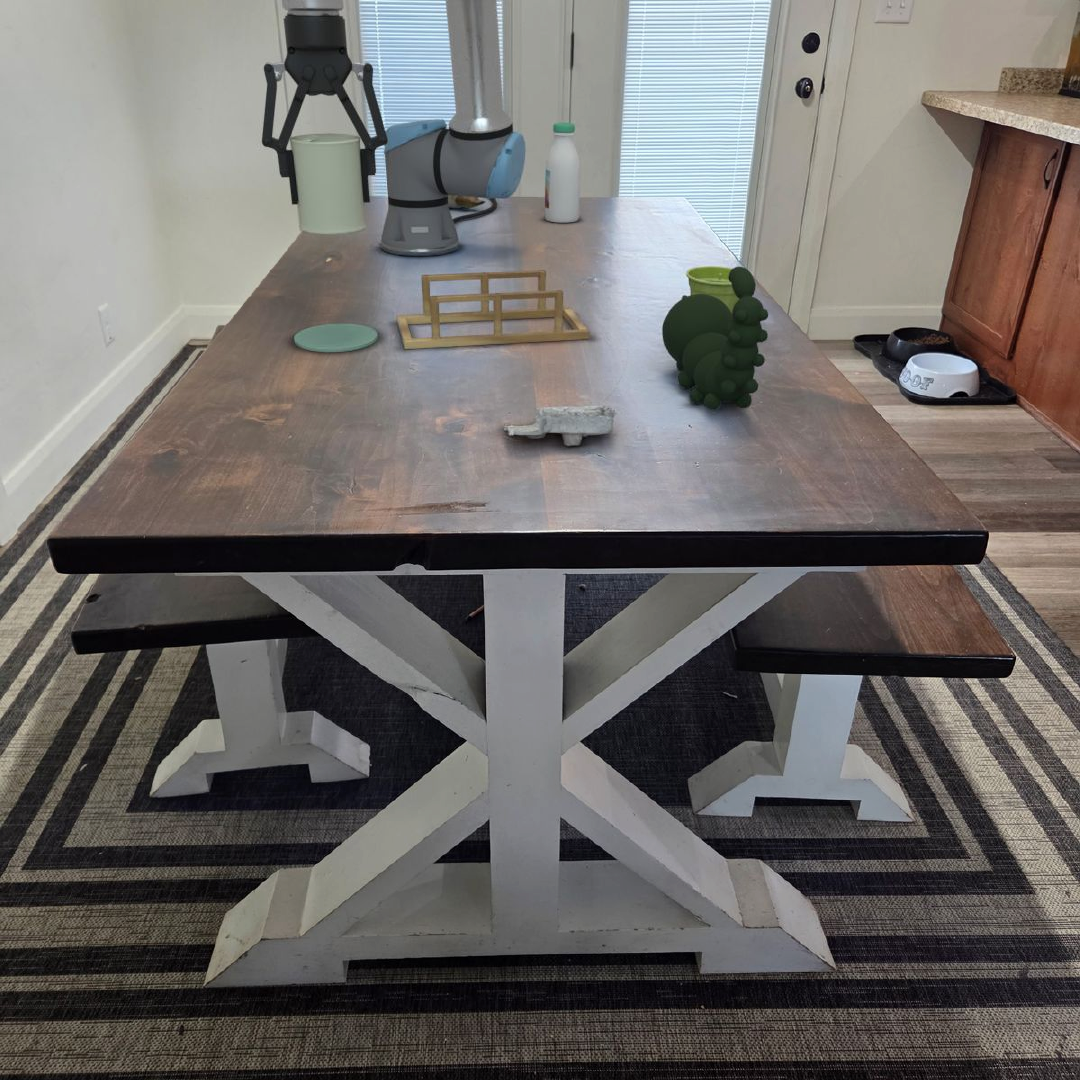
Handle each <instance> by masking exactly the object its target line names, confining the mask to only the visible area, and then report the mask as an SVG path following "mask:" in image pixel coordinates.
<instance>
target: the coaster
mask: <svg viewBox="0 0 1080 1080" xmlns="http://www.w3.org/2000/svg"><path fill="white" fill-rule="evenodd" d="M378 339H379V335H378V332H377V331H376V330H375V329H374V328H373V327H370V326H366V325H363V324H356V323H345V322H344V323H342V322H341V323H326V324H318V325H313V326H311V327H307V328H304V329H302V330H300V331H298V332H297V333H296V334H295V335H294V337H293V341H294V344H295V345H296V346H297V347H299V348H300V349H302V350H306V351H311V352H316V353H318V352H319V353H343V352H350V351H351V352H352V351H357V350H361V349H364V348H367V347H369V346H371V345H374V344H375V343H376V342H377V341H378Z"/></svg>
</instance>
